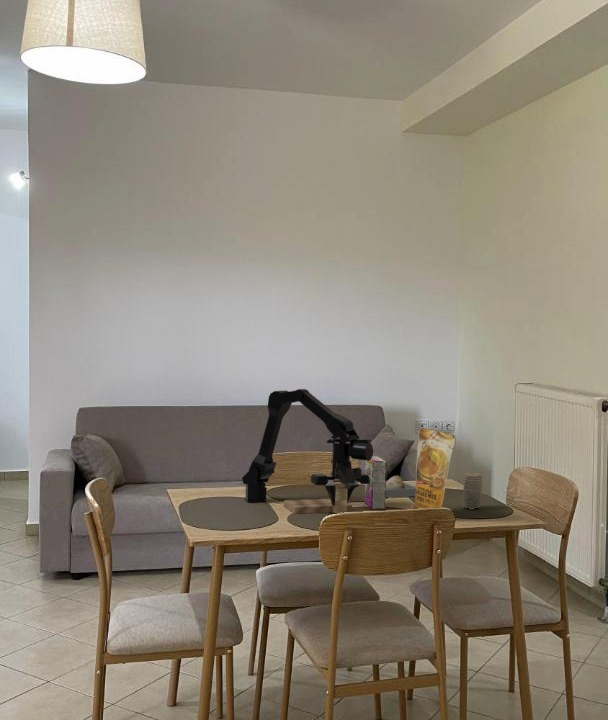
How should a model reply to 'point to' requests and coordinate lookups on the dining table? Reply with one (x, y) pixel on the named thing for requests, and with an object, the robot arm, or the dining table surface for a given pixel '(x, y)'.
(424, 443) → the pancake mix bag
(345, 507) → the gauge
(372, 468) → the candy bar box
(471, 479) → the carving
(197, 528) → the dining table surface
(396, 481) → the beige rock
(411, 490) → the mug coaster tray
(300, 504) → the board
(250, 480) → the robot arm
